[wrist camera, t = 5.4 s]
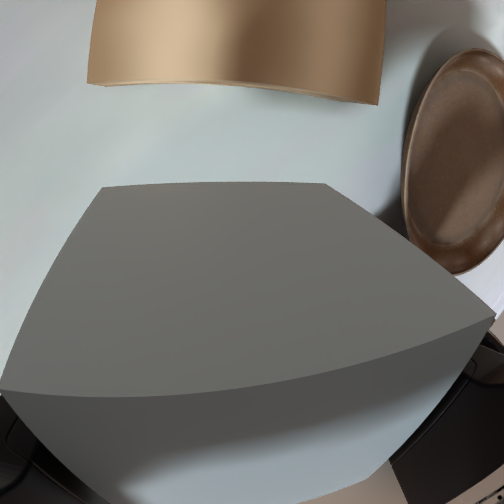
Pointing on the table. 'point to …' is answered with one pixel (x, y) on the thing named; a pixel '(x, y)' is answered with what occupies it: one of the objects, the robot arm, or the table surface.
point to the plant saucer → (457, 163)
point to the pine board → (242, 45)
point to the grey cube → (235, 344)
